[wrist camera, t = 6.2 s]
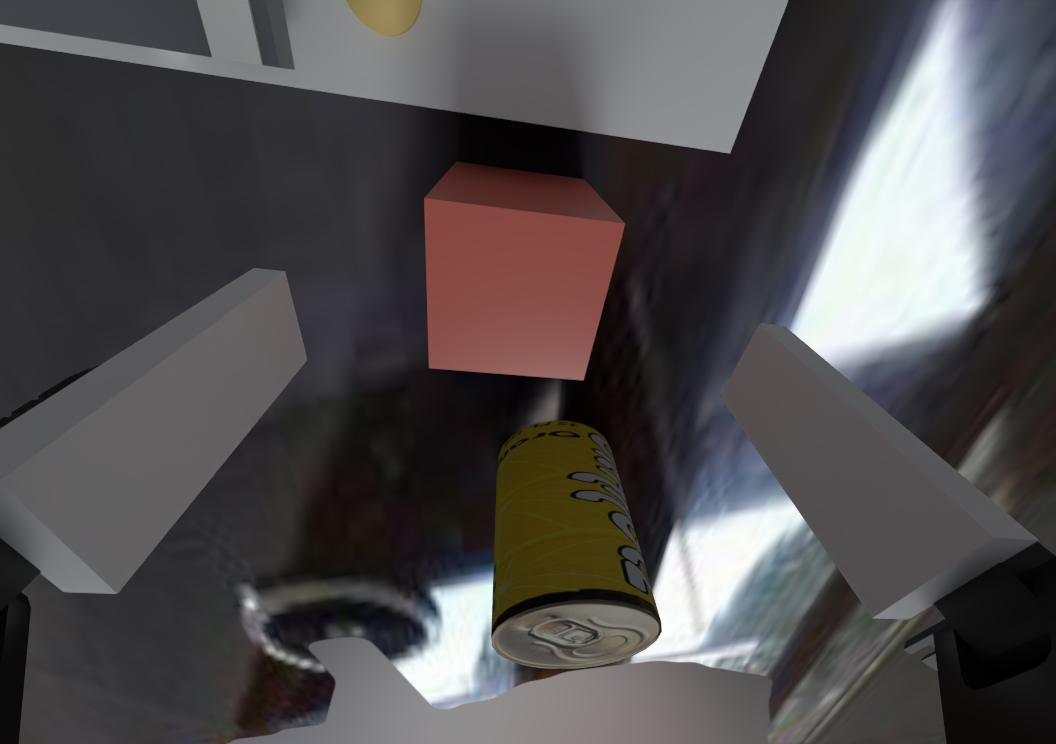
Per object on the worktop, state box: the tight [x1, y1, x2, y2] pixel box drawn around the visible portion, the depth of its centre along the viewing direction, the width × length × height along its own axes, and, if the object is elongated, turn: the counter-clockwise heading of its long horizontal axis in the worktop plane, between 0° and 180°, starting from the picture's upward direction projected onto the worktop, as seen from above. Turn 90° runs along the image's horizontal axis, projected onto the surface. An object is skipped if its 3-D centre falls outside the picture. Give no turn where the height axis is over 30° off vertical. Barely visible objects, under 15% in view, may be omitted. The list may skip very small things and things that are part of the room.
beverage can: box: [491, 421, 662, 669], centre depth 25 cm, size 9×9×12 cm
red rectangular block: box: [424, 162, 625, 381], centre depth 16 cm, size 6×6×8 cm
